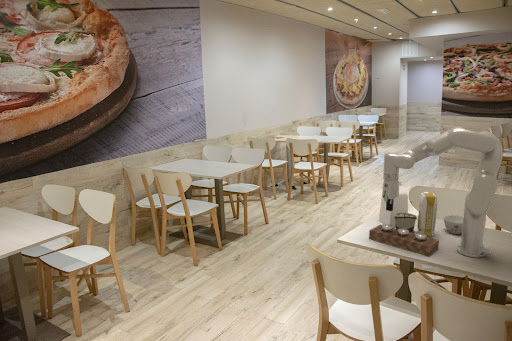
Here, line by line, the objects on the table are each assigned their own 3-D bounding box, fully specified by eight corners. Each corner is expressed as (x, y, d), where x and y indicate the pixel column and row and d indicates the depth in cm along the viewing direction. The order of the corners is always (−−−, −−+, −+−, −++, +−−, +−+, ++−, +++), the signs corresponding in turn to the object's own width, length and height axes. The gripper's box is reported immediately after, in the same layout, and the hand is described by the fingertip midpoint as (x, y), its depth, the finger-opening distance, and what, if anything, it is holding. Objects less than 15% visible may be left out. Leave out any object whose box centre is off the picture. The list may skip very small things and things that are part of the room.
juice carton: (416, 230, 230) (419, 189, 224) (430, 231, 228) (434, 190, 223) (419, 236, 221) (423, 194, 215) (435, 237, 219) (439, 195, 214)
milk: (389, 227, 235) (392, 184, 229) (378, 220, 246) (381, 179, 240) (407, 225, 238) (411, 182, 232) (396, 219, 248) (399, 178, 243)
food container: (412, 229, 232) (414, 212, 229) (415, 233, 226) (417, 216, 223) (390, 228, 233) (391, 212, 231) (393, 232, 227) (394, 215, 225)
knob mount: (438, 249, 204) (439, 239, 203) (428, 256, 196) (429, 246, 195) (379, 232, 226) (380, 224, 225) (368, 238, 218) (369, 230, 217)
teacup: (439, 233, 226) (441, 219, 224) (445, 226, 235) (447, 213, 234) (469, 239, 217) (471, 225, 215) (474, 232, 226) (476, 219, 224)
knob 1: (393, 237, 217) (394, 225, 216) (388, 239, 213) (389, 228, 212) (384, 234, 221) (385, 223, 219) (379, 237, 217) (380, 225, 216)
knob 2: (409, 241, 211) (410, 229, 209) (405, 244, 207) (406, 232, 206) (400, 238, 214) (401, 227, 213) (395, 241, 211) (396, 229, 209)
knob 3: (427, 246, 205) (428, 234, 203) (422, 249, 201) (423, 237, 200) (416, 243, 208) (417, 231, 207) (412, 246, 205) (413, 234, 203)
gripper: (391, 180, 202) (389, 215, 206) (404, 174, 212) (402, 208, 216) (377, 178, 207) (375, 212, 211) (390, 173, 217) (389, 205, 221)
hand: (389, 210), depth 213 cm, fingers closed
